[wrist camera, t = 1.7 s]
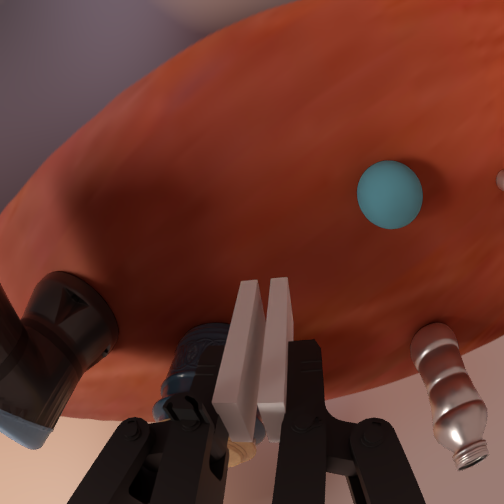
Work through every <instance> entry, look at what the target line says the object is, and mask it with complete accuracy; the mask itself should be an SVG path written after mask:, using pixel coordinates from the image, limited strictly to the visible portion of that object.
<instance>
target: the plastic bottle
mask: <svg viewBox="0 0 504 504" xmlns="http://www.w3.org/2000/svg"><path fill="white" fill-rule="evenodd" d="M410 353H411V359H412V361H413V363H414V365H415V367H416V368H417V370H418V371H419V373H420V375H421V377H422V380H423V382H424V384H425V386H426V389H427V392H428V396H429V401H430V406H431V412H432V423H433V432H434V437H435V439H436V440H437V442H438V443H439V444H441V445H442V446H443V447H445V448H447V449H448V450H451V451H452V452H453V453H454V455H453V457H452V458H453V461H454V462H455V466H456V470H457V471H463V470H466V469H468V468H471V467H473V466H475V465H477V464H478V463H480V462H482V461H483V460H485V459H486V458H487V457H488V456H489V452H488V449H487V446H486V445H487V443H486V440H482V436H483V433H484V430H485V426H486V422H487V408H486V405H485V403H484V402H483V400H482V398H481V397H480V395H479V394H478V392H477V390H476V389H475V387H474V385H473V383H472V381H471V379H470V377H469V375H468V373H467V371H466V369H465V367H464V363H463V361H462V358H461V355H460V352H459V348H458V342H457V339H456V336H455V334H454V332H453V331H452V330H451V329H450V327H449V326H447V325H445V324H442V323H432V324H429V325H427V326H425V327H423V328H422V329H420V330H419V331H418V332H417V333H416V334H415V336H414V337H413V339H412V342H411V345H410Z"/></svg>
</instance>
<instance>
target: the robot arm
mask: <svg viewBox="0 0 504 504" xmlns="http://www.w3.org/2000/svg"><path fill="white" fill-rule="evenodd" d="M117 339H118V326H117V322H116V320H115V317H114V315H113V313H112V311H111V310H110V308H109V306H108V305H107V304H106V302H105V301H104V300H103V298H102V297H101V296H100V295H99V294H98V293H97V292H96V291H95V290H94V289H93V288H92V287H90V286H89V285H88V284H87V283H85V282H84V281H82V280H81V279H79V278H77V277H75V276H73V275H71V274H68V273H64V272H52V273H49V274H47V275H46V276H45V277H44V278H43V279H42V280H41V281H40V282H39V283H38V284H37V285H36V287H35V289H34V291H33V293H32V295H31V298H30V300H29V302H28V305H27V307H26V310H25V312H24V315H23V317H22V318H21V319H19V317H18V315H17V314H16V312H15V310H14V308H13V307H12V305H11V303H10V301H9V299H8V297H7V295H6V293H5V292H4V290H3V288H2V286H1V284H0V432H1V433H3V434H5V435H6V436H7V437H9V438H11V439H12V440H14V441H15V442H17V443H19V444H20V445H22V446H24V447H27V448H28V449H33V450H34V449H39V448H41V447H42V446H43V444H44V442H45V441H46V439H47V438H48V436H49V434H50V433H51V432H53V430H54V427H55V425H56V423H57V421H58V419H59V417H60V415H61V413H62V411H63V409H64V408H65V406H66V404H67V402H68V400H69V398H70V396H71V395H72V393H73V391H74V389H75V387H76V385H77V383H78V382H79V380H80V378H81V377H82V375H83V374H84V373H85V372H86V371H87V370H88V369H90V368H91V367H92V366H94V365H95V364H96V363H98V362H99V361H100V360H102V359H103V358H104V357H106V356H107V355H108V354H109V353H110V351H111V350H112V348H113V347H114V345H115V343H116V341H117ZM197 366H198V367H197V368H196V371H195V376H194V378H193V381H192V384H191V387H190V391H189V393H188V392H184V393H178V394H175V395H173V396H171V397H170V398H169V399H168V400H167V401H166V402H165V403H164V405H163V407H162V408H163V409H164V411H165V412H166V414H167V415H168V416H169V418H170V420H167V421H163V422H157V423H151V424H148V423H147V422H146V421H145V420H143V419H142V418H137V417H133V418H128V419H126V420H124V421H123V422H122V423H121V424H120V425H119V426H118V427H117V429H116V430H115V432H114V433H113V435H112V436H111V438H110V439H109V441H108V442H107V443H106V445H105V446H104V448H103V450H102V451H101V453H100V454H99V456H98V457H97V459H96V460H95V461H94V463H93V464H92V466H91V468H90V469H89V471H88V472H87V474H86V475H85V477H84V478H83V480H82V481H81V483H80V484H79V486H78V487H77V489H76V490H75V492H74V493H73V495H72V496H71V498H70V499H69V501H68V503H67V504H223V499H224V492H225V485H226V477H227V470H228V463H229V456H230V455H229V449H228V447H227V443H228V437H230V439H231V441H232V442H253V436H254V428H255V420H256V412H257V405H258V408H259V411H260V414H261V418H262V421H263V424H264V427H265V430H266V433H267V436H268V439H269V442H280V443H279V452H278V461H277V469H276V477H275V485H274V493H273V501H272V504H325V503H324V502H325V481H326V472H329V473H334V474H339V475H345V476H346V479H347V483H348V486H349V489H350V493H351V496H352V499H353V503H354V504H426V503H425V501H424V498H423V495H422V493H421V490H420V488H419V486H418V483H417V481H416V478H415V476H414V474H413V471H412V469H411V467H410V464H409V462H408V460H407V457H406V455H405V453H404V450H403V448H402V446H401V444H400V441H399V439H398V437H397V435H396V433H395V430H394V428H393V427H392V426H391V424H390V423H389V422H387V421H385V420H383V419H380V418H369V419H365V420H363V421H361V422H359V423H358V424H356V423H351V422H345V421H341V420H338V419H336V418H334V417H333V416H332V415H331V414H330V413H329V412H328V411H327V409H326V406H325V399H324V383H323V370H322V356H321V348H320V347H319V345H318V344H317V342H316V341H315V339H312V340H300V341H293V315H292V307H291V299H290V292H289V284H288V277H282V278H271V280H270V290H269V300H268V310H267V319H266V320H265V315H264V310H263V305H262V300H261V295H260V290H259V285H258V280H249V281H241V284H240V288H239V292H238V296H237V300H236V304H235V308H234V312H233V316H232V320H231V324H230V329H229V333H228V337H227V341H226V345H219V346H208V347H207V348H206V349H205V350H204V352H203V353H202V354H201V355H200V359H199V362H198V365H197Z"/></svg>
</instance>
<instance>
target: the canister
mask: <svg viewBox="0 0 504 504" xmlns="http://www.w3.org/2000/svg"><path fill="white" fill-rule="evenodd" d="M229 329H230V324H225V323H207V324H202V325H199V326H196V327H194V328H192V329H191V330H189V331H188V332H187V333H186V334H185V335H184V337H183V338H182V339H181V340H180V342H179V343H178V345H177V348H176V350H175V354H174V359H173V362H172V364H171V367H170V369H169V372H168V374H167V377H166V379H165V380H164V382H163V383H162V386H161V396H162V399H160V400H159V401H157V402H156V403H155V405H154V406H153V411H152V412H153V417H154V419H155V421H156V422H163V421H167V420H170V418H169V416H168V415H167V414H166V412H165V411H164V409H163V408H162V407H163V405H164V403H165V402H166V401H167V400H168V399H169V398H170V397H171V396H173V395H175V394H178V393H184V392H188V393H189V391H190V387H191V384H192V381H193V378H194V376H195V371H196V368H197V367H198V366H197V365H198V362H199V359H200V355H201V354H202V353H203V352H204V350H205V349H206V348H207V347H208V346H219V345H226V341H227V337H228V333H229ZM262 422H263V421H262V418H261V414H260V411H259V408H258V405H257V412H256V420H255V428H254V436H253V442H232V441H231V439H230V437H228V443H227V447H228V449H229V455H230V456H229V463H228V467H233V466H236V465H238V464H240V463H243V462H246V461H248V460H250V459H252V458H253V457H254V456H255V454H256V446H257V445H259V444H260V443H261V442H262V441H263V440H264V438H265V436H266V430H265V427H264V424H263V423H262Z"/></svg>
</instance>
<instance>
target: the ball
mask: <svg viewBox="0 0 504 504" xmlns="http://www.w3.org/2000/svg"><path fill="white" fill-rule="evenodd" d="M357 199H358V203H359V206H360V209H361V211H362V212H363V214H364V215H365V217H366V218H367V219H368V220H369V221H370V222H372V223H373V224H375V225H377V226H379V227H381V228H385V229H397V228H401V227H404V226H406V225H408V224H409V223H410V222H412V221H413V220H414V219H415V217H416V216H417V215H418V213H419V211H420V209H421V206H422V200H423V192H422V187H421V184H420V181H419V179H418V178H417V176H416V174H415V173H414V172H413V171H412V170H411V169H410V168H409V167H407V166H406V165H404V164H402V163H400V162H397V161H381V162H377V163H375V164H373V165H372V166H370V167H369V168H368V169H367V170H366V171H365V172H364V173H363V175H362V176H361V178H360V181H359V183H358V188H357Z"/></svg>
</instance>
